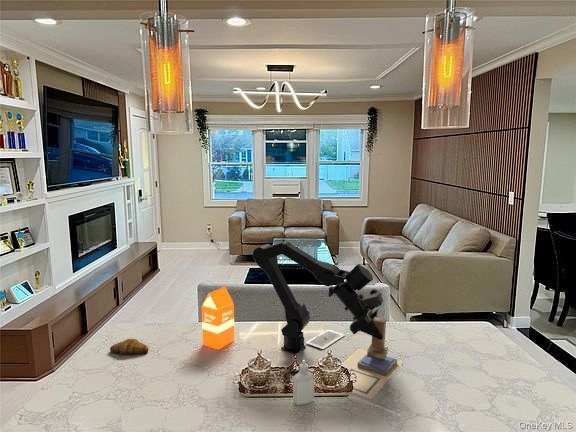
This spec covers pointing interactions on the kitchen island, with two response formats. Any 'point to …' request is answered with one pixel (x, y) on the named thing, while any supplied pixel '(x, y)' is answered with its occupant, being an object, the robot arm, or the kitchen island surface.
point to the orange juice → (218, 319)
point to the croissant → (129, 347)
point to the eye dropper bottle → (303, 386)
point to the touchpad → (325, 339)
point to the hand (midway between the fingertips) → (383, 336)
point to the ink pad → (378, 365)
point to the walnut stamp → (378, 341)
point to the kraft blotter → (366, 375)
